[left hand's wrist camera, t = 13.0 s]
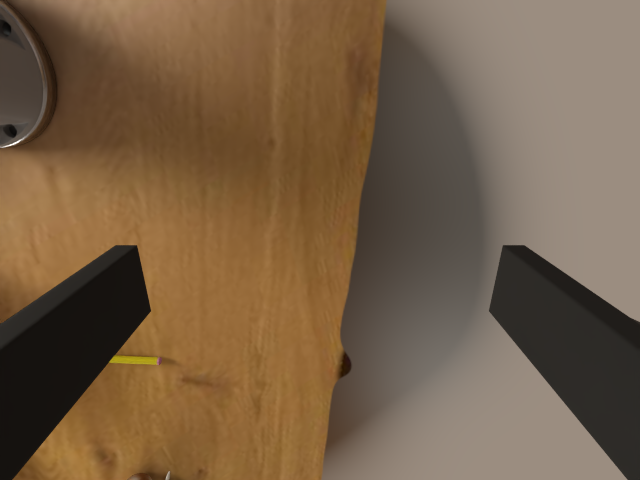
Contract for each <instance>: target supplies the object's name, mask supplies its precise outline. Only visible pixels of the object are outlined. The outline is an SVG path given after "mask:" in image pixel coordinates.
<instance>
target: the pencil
mask: <svg viewBox="0 0 640 480" xmlns="http://www.w3.org/2000/svg"><path fill="white" fill-rule="evenodd" d="M161 361H162V358H161V357H141V356H116V355H114V357H113V358H112V359H111V360H110V362H109V363H130V364H155V365H160V364H161Z"/></svg>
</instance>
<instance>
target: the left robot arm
mask: <svg viewBox="0 0 640 480" xmlns="http://www.w3.org/2000/svg"><path fill="white" fill-rule="evenodd" d="M56 96H57V89H56V79H55V74H54V70H53V66H52V63H51V60H50V58H49V55H48V53H47V51H46V49H45V47H44V45H43V43H42V41H41V40H40V38H39V36H38V35H37V33H36V32H35V31H34V29H33V28H32V27H31V25H30V24H29V23H28V22H27V20H26V19H25V18H24V17H23V16H22V15H21V14H20V13H19V12H18V11H17V10H16V9H14V8H13V7H12V6H11V5H10V4H8V3H7V2H6V1H5V0H0V148H4V147H12V146H17V145H21V144H25V143H27V142H29V141H31V140H33V139H34V138H36V137H37V136H38V135H40V134H41V133H42V132H43V131H44V130H45V128H46V127H47V125H48V124H49V122H50V120H51V118H52V116H53V113H54V109H55V105H56ZM150 312H151V309H150V304H149V299H148V294H147V290H146V285H145V280H144V276H143V271H142V266H141V262H140V257H139V252H138V248H137V245H116V246H114V247H113V248H111V249H110V250H108V251H107V252H105V253H104V254H102V255H101V256H99V257H98V258H97V259H95V260H94V261H92V262H91V263H89V264H88V265H86V266H85V267H83V268H82V269H80V270H79V271H78V272H76V273H75V274H73V275H72V276H70V277H69V278H67V279H66V280H64V281H63V282H61V283H60V284H59V285H57V286H56V287H54V288H53V289H51V290H50V291H48V292H47V293H45V294H44V295H42V296H41V297H40V298H38V299H37V300H35V301H34V302H32V303H31V304H29V305H28V306H26V307H25V308H23V309H22V310H21V311H19V312H18V313H16V314H15V315H13V316H12V317H10V318H9V319H7V320H6V321H4V322H3V323H1V324H0V480H12V479H13V478H14V477H15V476H16V475H17V473H18V472H19V471H20V470H21V469H22V467H23V466H24V465H25V464H26V462H27V461H28V460H29V459H30V458H31V456H32V455H33V454H34V453H35V452H36V450H37V449H38V448H39V447H40V445H41V444H42V443H43V442H44V441H45V439H46V438H47V437H48V436H49V434H50V433H51V432H52V431H53V430H54V428H55V427H56V426H57V425H58V424H59V422H60V421H61V420H62V419H63V417H64V416H65V415H66V414H67V413H68V411H69V410H70V409H71V408H72V407H73V405H74V404H75V403H76V402H77V400H78V399H79V398H80V397H81V396H82V394H83V393H84V392H85V391H86V389H87V388H88V387H89V386H90V385H91V383H92V382H93V381H94V380H95V379H96V377H97V376H98V375H99V374H100V372H101V371H102V370H103V369H104V368H105V366H106V365H107V364H108V363H109V362H110V360H111V359H112V358H113V357H114V355H115V354H116V353H117V352H118V351H119V349H120V348H121V347H122V346H123V344H124V343H125V342H126V341H127V340H128V338H129V337H130V336H131V335H132V334H133V332H134V331H135V330H136V329H137V327H138V326H139V325H140V324H141V323H142V321H143V320H144V319H145V318H146V317H147V315H148V314H149V313H150ZM489 312H490V313H491V314H492V315H493V316H494V318H495V319H496V320H497V321H498V323H499V324H500V325H501V326H502V327H503V329H504V330H505V331H506V332H507V334H508V335H509V336H510V337H511V338H512V340H513V341H514V342H515V343H516V344H517V346H518V347H519V348H520V349H521V351H522V352H523V353H524V354H525V355H526V357H527V358H528V359H529V360H530V362H531V363H532V364H533V365H534V366H535V368H536V369H537V370H538V371H539V372H540V374H541V375H542V376H543V377H544V379H545V380H546V381H547V382H548V383H549V385H550V386H551V387H552V388H553V389H554V391H555V392H556V393H557V394H558V396H559V397H560V398H561V399H562V400H563V402H564V403H565V404H566V405H567V407H568V408H569V409H570V410H571V411H572V413H573V414H574V415H575V416H576V417H577V419H578V420H579V421H580V422H581V424H582V425H583V426H584V427H585V428H586V430H587V431H588V432H589V433H590V434H591V436H592V437H593V438H594V439H595V441H596V442H597V443H598V444H599V445H600V447H601V448H602V449H603V450H604V451H605V453H606V454H607V455H608V456H609V458H610V459H611V460H612V461H613V462H614V464H615V465H616V466H617V467H618V469H619V470H620V471H621V472H622V473H623V475H624V476H625V477H626V478H627V479H628V480H640V322H638V321H636V320H634V319H632V318H630V317H628V316H627V315H625V314H624V313H622V312H621V311H619V310H618V309H617V308H615V307H614V306H612V305H611V304H609V303H608V302H606V301H605V300H603V299H602V298H600V297H599V296H598V295H596V294H595V293H593V292H592V291H590V290H589V289H587V288H586V287H584V286H583V285H581V284H580V283H578V282H577V281H576V280H574V279H573V278H571V277H570V276H568V275H567V274H565V273H564V272H562V271H561V270H560V269H558V268H557V267H555V266H554V265H552V264H551V263H549V262H548V261H546V260H545V259H543V258H542V257H540V256H539V255H538V254H536V253H535V252H533V251H532V250H530V249H529V248H527V247H526V246H524V245H503V248H502V252H501V257H500V262H499V267H498V271H497V276H496V280H495V285H494V290H493V294H492V299H491V304H490V309H489Z"/></svg>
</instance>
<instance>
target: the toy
mask: <svg viewBox="0 0 640 480" xmlns="http://www.w3.org/2000/svg"><path fill="white" fill-rule="evenodd" d="M169 478H170V471H169V472H168V474H167V477H166V479H165V480H169ZM127 480H153V479H152V478H151V477H150V476H149V475H147V474H143V473H139V474H135V475H133V476H131V477H129V478H128V479H127Z"/></svg>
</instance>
